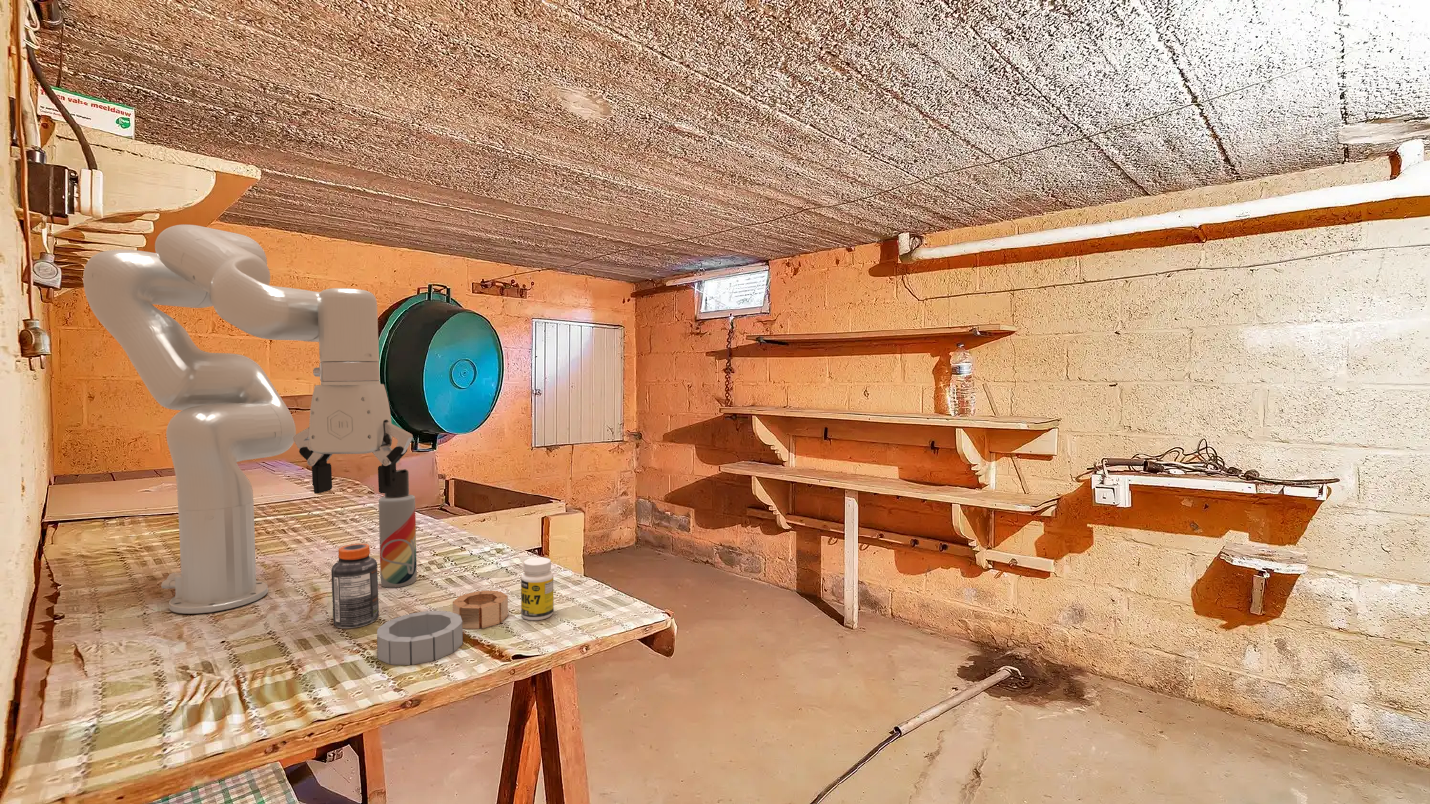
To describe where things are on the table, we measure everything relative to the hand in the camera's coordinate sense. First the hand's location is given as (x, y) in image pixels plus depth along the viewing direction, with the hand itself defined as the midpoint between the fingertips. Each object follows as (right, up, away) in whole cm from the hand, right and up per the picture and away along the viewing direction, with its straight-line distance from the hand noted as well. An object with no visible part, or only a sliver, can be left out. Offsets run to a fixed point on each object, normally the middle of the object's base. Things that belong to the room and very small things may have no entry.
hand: (355, 491), depth 94 cm
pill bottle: (0, -20, +1) cm, 20 cm away
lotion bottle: (-3, -19, +18) cm, 26 cm away
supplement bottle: (+26, -20, +4) cm, 33 cm away
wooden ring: (+18, -19, +2) cm, 26 cm away
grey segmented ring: (+13, -20, -8) cm, 25 cm away
